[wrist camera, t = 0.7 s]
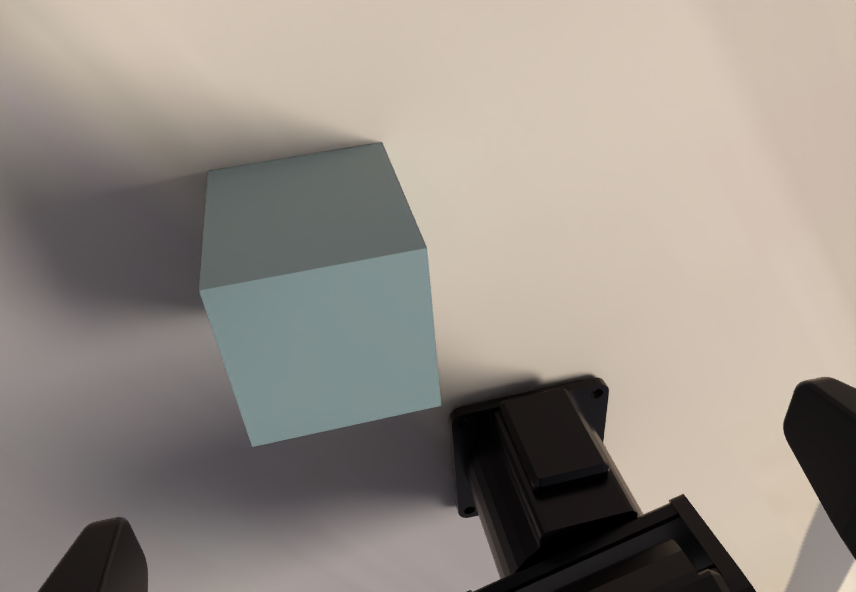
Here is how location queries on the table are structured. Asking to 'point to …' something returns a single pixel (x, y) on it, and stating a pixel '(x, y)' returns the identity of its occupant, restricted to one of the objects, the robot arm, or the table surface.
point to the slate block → (318, 292)
